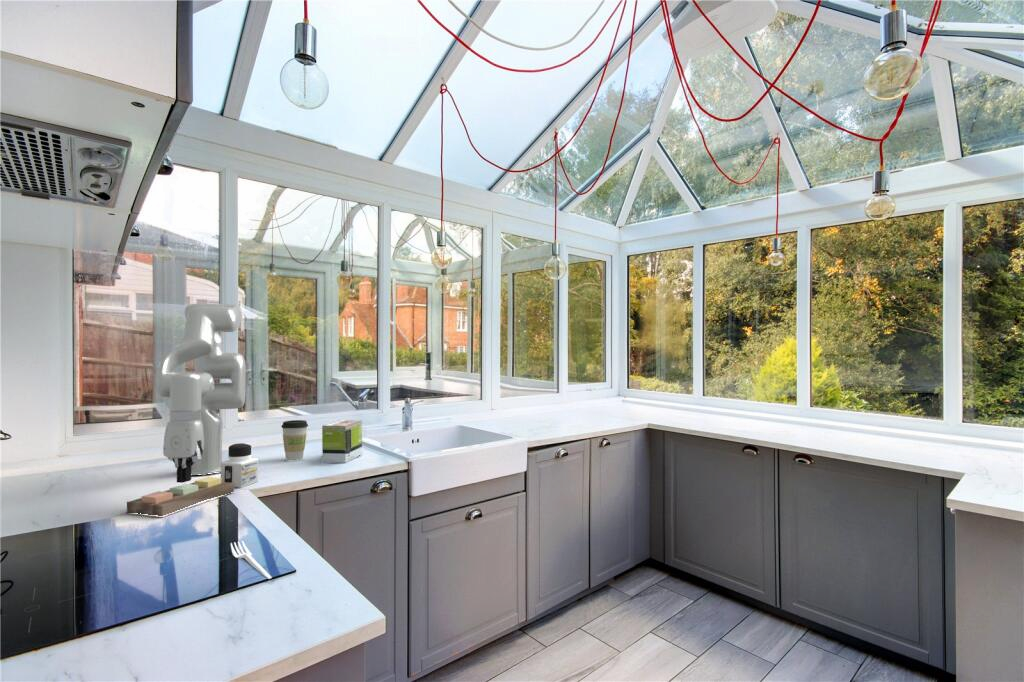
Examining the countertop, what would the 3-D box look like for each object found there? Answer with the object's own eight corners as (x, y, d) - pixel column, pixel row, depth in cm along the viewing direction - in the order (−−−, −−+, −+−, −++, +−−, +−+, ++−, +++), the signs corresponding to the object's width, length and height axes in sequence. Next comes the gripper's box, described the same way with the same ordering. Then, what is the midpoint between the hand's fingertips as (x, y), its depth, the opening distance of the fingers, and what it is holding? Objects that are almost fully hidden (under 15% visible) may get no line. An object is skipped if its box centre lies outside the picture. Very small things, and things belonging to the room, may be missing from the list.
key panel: (126, 513, 129) (126, 502, 129) (201, 489, 151) (202, 480, 152) (162, 517, 126) (162, 505, 126) (233, 492, 148) (233, 482, 148)
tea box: (340, 454, 204) (340, 419, 205) (362, 455, 203) (363, 419, 203) (321, 462, 190) (321, 424, 190) (345, 463, 188) (346, 425, 188)
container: (241, 488, 154) (241, 446, 154) (219, 486, 155) (220, 445, 155) (258, 481, 161) (259, 442, 161) (238, 480, 163) (238, 441, 163)
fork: (261, 585, 91) (261, 575, 92) (228, 552, 105) (228, 543, 105) (279, 579, 94) (279, 570, 94) (244, 548, 108) (244, 539, 108)
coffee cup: (301, 462, 190) (301, 423, 190) (276, 461, 190) (276, 423, 190) (311, 456, 200) (312, 420, 200) (287, 456, 200) (288, 419, 200)
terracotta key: (141, 507, 129) (141, 496, 129) (158, 502, 134) (158, 491, 134) (155, 509, 128) (155, 497, 128) (172, 503, 133) (172, 492, 133)
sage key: (169, 498, 137) (169, 488, 137) (184, 494, 142) (185, 483, 142) (183, 500, 136) (183, 489, 136) (198, 495, 141) (198, 485, 141)
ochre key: (194, 491, 145) (194, 480, 145) (208, 486, 150) (208, 477, 150) (207, 492, 144) (207, 482, 144) (221, 488, 148) (221, 478, 148)
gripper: (152, 417, 137) (150, 483, 137) (194, 418, 134) (193, 486, 133) (176, 414, 145) (175, 477, 144) (217, 415, 141) (216, 479, 140)
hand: (183, 481), depth 138 cm, fingers closed
